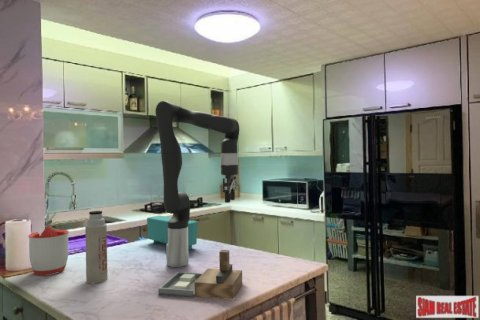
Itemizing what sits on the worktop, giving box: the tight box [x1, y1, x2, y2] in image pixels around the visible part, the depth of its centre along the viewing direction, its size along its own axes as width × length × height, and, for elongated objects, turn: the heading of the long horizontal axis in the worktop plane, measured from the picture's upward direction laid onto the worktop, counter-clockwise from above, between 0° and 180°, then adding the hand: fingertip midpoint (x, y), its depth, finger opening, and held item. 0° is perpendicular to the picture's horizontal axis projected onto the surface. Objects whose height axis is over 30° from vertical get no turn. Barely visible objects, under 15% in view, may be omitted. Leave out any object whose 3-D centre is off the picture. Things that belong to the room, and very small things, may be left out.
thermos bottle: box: [84, 210, 109, 284], centre depth 141 cm, size 8×8×28 cm
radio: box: [146, 215, 199, 251], centre depth 194 cm, size 34×10×15 cm, turn 49°
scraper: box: [216, 249, 233, 284], centre depth 128 cm, size 3×14×10 cm, turn 167°
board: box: [194, 267, 243, 300], centre depth 129 cm, size 14×16×5 cm
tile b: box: [180, 274, 195, 284], centre depth 136 cm, size 4×4×2 cm
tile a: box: [174, 281, 190, 290], centre depth 128 cm, size 4×4×2 cm
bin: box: [157, 271, 204, 299], centre depth 132 cm, size 13×18×2 cm
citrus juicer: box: [27, 226, 69, 277], centre depth 153 cm, size 16×17×20 cm
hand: (230, 201), depth 150 cm, fingers open, 8 cm apart
